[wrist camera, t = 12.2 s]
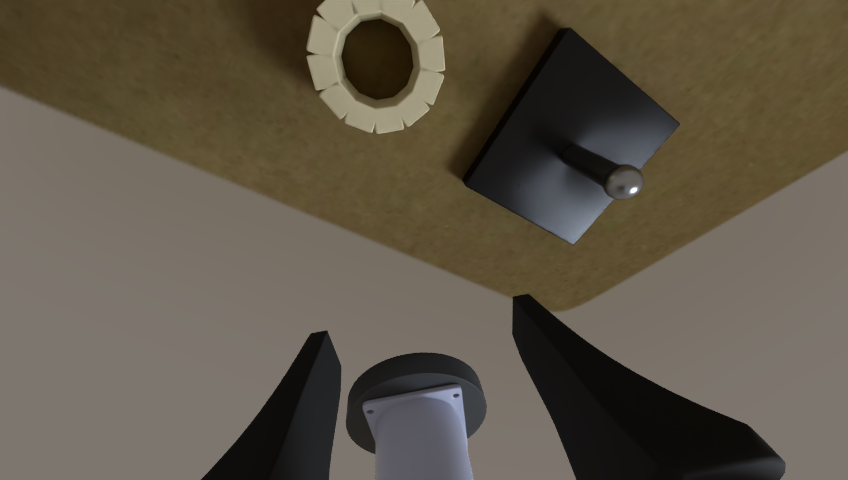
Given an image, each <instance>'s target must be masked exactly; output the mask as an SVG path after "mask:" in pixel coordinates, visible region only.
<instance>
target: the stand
mask: <svg viewBox="0 0 848 480" xmlns="http://www.w3.org/2000/svg"><path fill="white" fill-rule="evenodd" d="M679 125H680V123H679V122H678V121H676V120H675V119H674V118H673V117H672V116H671V115H670V114H668V113H667V112H666V111H665V110H664V109H663V108H662V107H660V106H659V105H658V104H657V103H656V102H655V101H654V100H652V99H651V98H650V97H649V96H648V95H647V94H646V93H644V92H643V91H642V90H641V89H640V88H639V87H638V86H636V85H635V84H634V83H633V82H632V81H631V80H630V79H628V78H627V77H626V76H625V75H624V74H623V73H622V72H620V71H619V70H618V69H617V68H616V67H615V66H614V65H612V64H611V63H610V62H609V61H608V60H607V59H606V58H604V57H603V56H602V55H601V54H600V53H599V52H598V51H596V50H595V49H594V48H593V47H592V46H591V45H590V44H588V43H587V42H586V41H585V40H584V39H583V38H582V37H580V36H579V35H578V34H577V33H576V32H575V31H574V30H572V29H571V28H561V29H560V30H559V31H558V33H557V34H556V36H555V37H554V39H553V40H552V42H551V43H550V45H549V47H548V48H547V50H546V51H545V53H544V54H543V56H542V57H541V59H540V60H539V62H538V63H537V65H536V67H535V68H534V70H533V71H532V73H531V74H530V76H529V77H528V79H527V80H526V82H525V83H524V85H523V87H522V88H521V90H520V91H519V93H518V94H517V96H516V97H515V99H514V100H513V102H512V103H511V105H510V107H509V108H508V110H507V111H506V113H505V114H504V116H503V117H502V119H501V120H500V122H499V123H498V125H497V127H496V128H495V130H494V131H493V133H492V134H491V136H490V137H489V139H488V140H487V142H486V143H485V145H484V147H483V148H482V150H481V151H480V153H479V154H478V156H477V157H476V159H475V160H474V162H473V163H472V165H471V167H470V168H469V170H468V171H467V173H466V174H465V176H464V177H463V179H462V181H463V183H464V184H465V186H467V187H468V188H470V189H472V190H474V191H476V192H477V193H479V194H481V195H483V196H485V197H487V198H488V199H490V200H492V201H494V202H496V203H497V204H499V205H501V206H503V207H505V208H507V209H508V210H510V211H512V212H514V213H516V214H517V215H519V216H521V217H523V218H525V219H527V220H528V221H530V222H532V223H534V224H536V225H537V226H539V227H541V228H543V229H545V230H547V231H548V232H550V233H552V234H554V235H556V236H557V237H559V238H561V239H563V240H565V241H567V242H568V243H570V244H572V245H574V244H575V243H576V241H577V240H578V239H579V238H580V237H581V236H582V235H583V234H584V232H585V231H586V230H587V229H588V228H589V227H590V226H591V224H592V223H593V222H594V221H595V220H596V219H597V218H598V217H599V215H600V214H601V213H602V212H603V211H604V210H605V209H606V207H607V206H608V205H609V204H610V203H611V202H612V201H613V200H614V199H616V200H626V199H629V198H632V197H634V196H635V195H636V194H638V193H639V191H640V190H641V188H642V186H643V182H644V180H643V175H642V173H641V171H640V169H641V168H642V167H643V166H644V164H645V163H646V162H647V161H648V160H649V159H650V158H651V157H652V155H653V154H654V153H655V152H656V151H657V150H658V149H659V147H660V146H661V145H662V144H663V143H664V142H665V141H666V140H667V138H668V137H669V136H670V135H671V134H672V133H673V132H674V130H675V129H676V128H677V127H678V126H679Z"/></svg>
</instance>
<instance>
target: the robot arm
mask: <svg viewBox="0 0 848 480" xmlns="http://www.w3.org/2000/svg"><path fill="white" fill-rule="evenodd" d="M512 334H513V337H514V340H515V343H516V346H517V348H518V351H519V354H520V356H521V359H522V361H523V363H524V365H525V366H526V369H527V371H528V373H529V374H530V377H531V378H532V380H533V382H534V384H535V386H536V388H537V390H538V392H539V394H540V396H541V398H542V400H543V402H544V404H545V406H546V408H547V410H548V411H549V414H550V416H551V418H552V420H553V422H554V424H555V427H556V429H557V432H558V434H559V437H560V439H561V441H562V444H563V446H564V449H565V451H566V454H567V456H568V459H569V462H570V464H571V466H572V469H573V472H574V475H575V477H576V480H780V479H781V477H782V476H783V474H784V473H785V462H784V461H783V460H782V459H781V457H780V456H779V455H778V454H777V453H776V452H775V451H774V450H773V449H772V448H771V447H770V446H769V445H768V444H767V443H766V442H765V441H764V440H763V439H762V438H761V437H760V436H759V435H758V434H757V433H756V432H755V431H754V430H753V429H752V428H751V427H749V426H748V425H747V424H745V423H742V422H740V421H737V420H734V419H732V418H730V417H728V416H725V415H723V414H720V413H718V412H715V411H713V410H711V409H708V408H705V407H703V406H701V405H699V404H697V403H695V402H692V401H690V400H688V399H686V398H684V397H682V396H680V395H677V394H675V393H673V392H671V391H669V390H667V389H665V388H663V387H661V386H659V385H657V384H655V383H654V382H652V381H650V380H648V379H646V378H644V377H642V376H640V375H639V374H637V373H635V372H633V371H632V370H630V369H628V368H626V367H624V366H623V365H622V364H620V363H618V362H617V361H615V360H613V359H612V358H610V357H609V356H607V355H606V354H604V353H603V352H601V351H600V350H598V349H597V348H595V347H594V346H593V345H591V344H590V343H588V342H587V341H586V340H584V339H583V338H581V337H580V336H579V335H577V334H576V333H575V332H574V331H572V330H571V329H570V328H569V327H567V326H566V325H565V324H563V323H562V322H561V321H560V320H558V319H557V318H556V317H555V316H554V315H553V314H551V313H550V312H549V311H548V310H547V309H545V308H544V307H543V306H542V305H541V304H540V303H539V302H537V301H536V300H535V299H534V298H533V297H532V296H530V295H529V294H525V295H520V296H514V297H513V329H512ZM340 391H341V365H340V362H339V359H338V357H337V354H336V352H335V349H334V346H333V344H332V341H331V339H330V337H329V334H328V331H322V332H316V333H311V334H310V336H309V337H308V339H307V340H306V342H305V344H304V345H303V347H302V349H301V350H300V352H299V354H298V355H297V357H296V359H295V360H294V362H293V363H292V365H291V367H290V368H289V370H288V371H287V373H286V374H285V376H284V377H283V379H282V380H281V382H280V384H279V385H278V387H277V388H276V390H275V391H274V392H273V394H272V395H271V397H270V398H269V399H268V401H267V402H266V404H265V405H264V406H263V408H262V409H261V411H260V412H259V413H258V415H257V416H256V417H255V419H254V420H253V421H252V422H251V424H250V425H249V426H248V427H247V429H246V430H245V431H244V432H243V434H242V435H241V436H240V437H239V438H238V440H237V441H236V442H235V443H234V444H233V445H232V447H231V448H230V449H229V450H228V451H227V452H226V453H225V454H224V455H223V457H222V458H221V459H220V460H219V461H218V462H217V463H216V464H215V465H214V467H212V469H211V470H210V471H209V472H208V473H207V474H206V475H205V476H204V477H203V478H202V479H201V480H329V468H330V460H331V452H332V446H333V439H334V433H335V426H336V420H337V413H338V406H339V399H340ZM363 411H364V414H365V416H366V419H367V422H368V424H369V427H370V429H371V432H372V435H373V437H374V440H375V442H376V451H375V455H376V456H375V462H376V463H375V480H474V479H473V474H472V469H471V465H470V460H469V456H468V451H467V447H468V444H467V434H466V425H465V417H464V408H463V399H462V390H461V386H460V385H459V384H451V385H446V386H441V387H435V388H430V389H425V390H420V391H414V392H409V393H404V394H399V395H393V396H388V397H383V398H378V399H372V400H367V401H365V402H364V403H363Z"/></svg>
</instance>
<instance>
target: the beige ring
mask: <svg viewBox="0 0 848 480" xmlns="http://www.w3.org/2000/svg"><path fill="white" fill-rule="evenodd" d="M414 3H415V0H324V1H323V2H322V3H321V4H320V5H319V6H318V7H317V11H318V13H319V14H320V15H321V16H322V18H321V17H319V16H317V15H314V16H313V18H312V23H311V28H310V33H309V37H308V42H307V47H306V49H307V51H309V52H311V53H313V54H314V55H307V56H306V58H307V62H308V65H309V69H310V73H311V76H312V80H313V83H314V87H315V90H323V89H324V90H323V91H322V92H321V93H320V94H319V97H320V98H321V99H322V100H323V101H324V103H325V104H326V105H327V106H328V107H329V108H330V109H331V110H332V112H333V113H334V114H335V115H336V116H337V117H338V118H339V119H342V118H343V117H344V116H345V115H346V117H345V121H344V123H345V124H348V125H350V126H353V127H356V128H358V129H361V130H363V131H366V132H369V133H372V132H373V129H374V126H375V131H376V133H377V134H380V133H386V132H392V131H398V130H403V128H404V126H403V122H404V124H405V125H406V126H407V127H409V126H411V125H412V124H413V123H414V122H415V121H417V120H418V119H419V118H420V117H421V116H423V115H424V114H425V113H426V112H427V111H429V107H428V105H427V104H426V103H428V104H431V105H433V104H434V101H435V99H436V96H437V94H438V91H439V89H440V86H441V84H442V81H443V79H444V75H442V74H440V73H438V72H439V71H444V70H445V61H444V49H443V37H442V36H435V35H436V34H437V33H438V32H439V31H440V28H439V26H438V25H437V23H436V21H435V20H434V18H433V16H432V15H431V13H430V12H429V10H428V8H427V7H426V5H425V3H424V2H423V0H419V1H418V2H417V3H416V4H415V5H414ZM376 19H382V20H384V21H386V22H388V23H390V24H392V25H394V26H396V27H398V28H399V29H400V30H401V32H402V33H403V35H404V36H405V38H406V39H407V41H408V42H409V44H410V45H411V51H412V59H413V66H414V67H413V70H412V72H411V75H410V78H409V81H408V84H407V86H406V87H404V88H403V89H402V90H401V91H400V92H399V93H398V94H396V95H395V96H394V97H392V98H385V99H379V100H375V99H373V98H370V97H368V96H365V95H363V94H361V93H359V92H358V91H357V90H356V89H355V88H354V86H353V85H352V84H351V83H350V81H349V80H348V79H347V78H346V75H345V70H344V66H343V61H342V57H341V55H342V51H343V47H344V44H345V40H346V36H347V35H348V34H349V33H350V32H351V31H352V30H353V29H354V28H355V27H356V26H357V25H358V24H359V23H360V22H362V21H369V20H376ZM425 102H426V103H425Z"/></svg>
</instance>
